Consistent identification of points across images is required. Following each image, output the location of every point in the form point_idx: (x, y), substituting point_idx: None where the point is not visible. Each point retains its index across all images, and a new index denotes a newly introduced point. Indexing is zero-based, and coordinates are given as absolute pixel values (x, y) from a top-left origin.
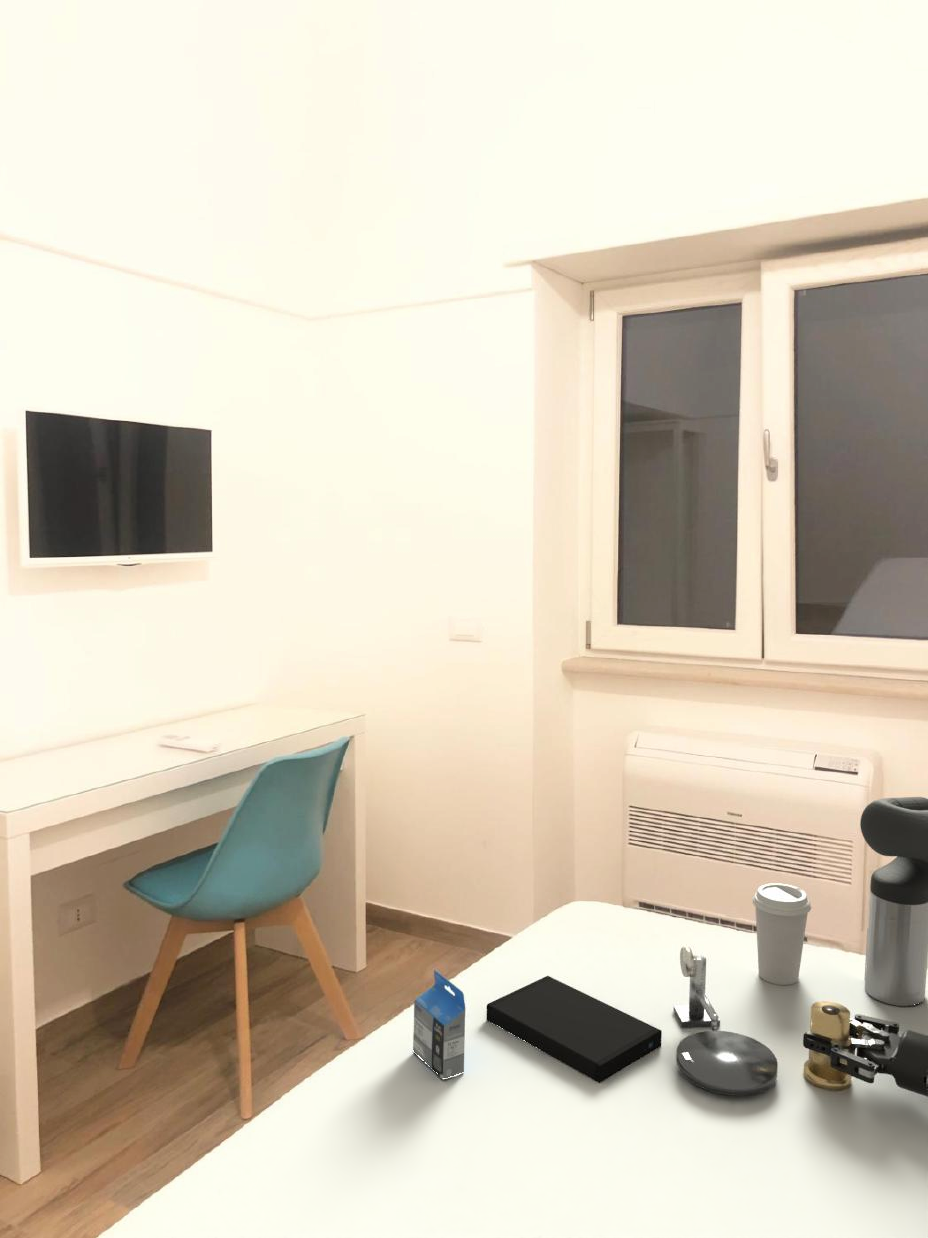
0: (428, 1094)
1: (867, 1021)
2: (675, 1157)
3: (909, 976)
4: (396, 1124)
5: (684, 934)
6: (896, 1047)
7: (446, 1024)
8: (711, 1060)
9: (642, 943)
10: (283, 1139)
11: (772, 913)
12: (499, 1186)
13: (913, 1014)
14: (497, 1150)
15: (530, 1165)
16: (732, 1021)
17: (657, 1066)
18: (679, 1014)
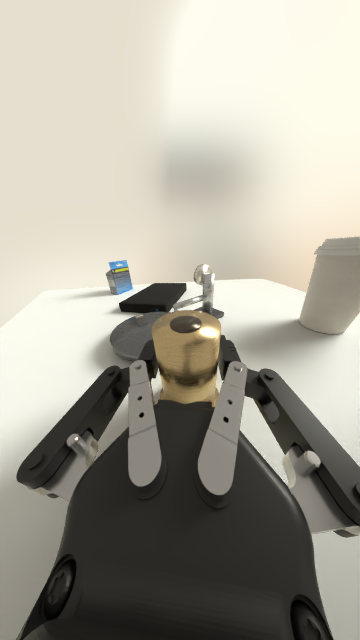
0: (103, 294)
1: (272, 396)
2: (45, 345)
3: None
4: (85, 295)
5: (287, 293)
6: (182, 573)
7: (106, 273)
8: (141, 324)
9: (255, 290)
10: (78, 290)
11: (323, 254)
12: (40, 314)
13: None
14: (66, 308)
15: (53, 315)
16: (222, 325)
17: None
18: (198, 308)
